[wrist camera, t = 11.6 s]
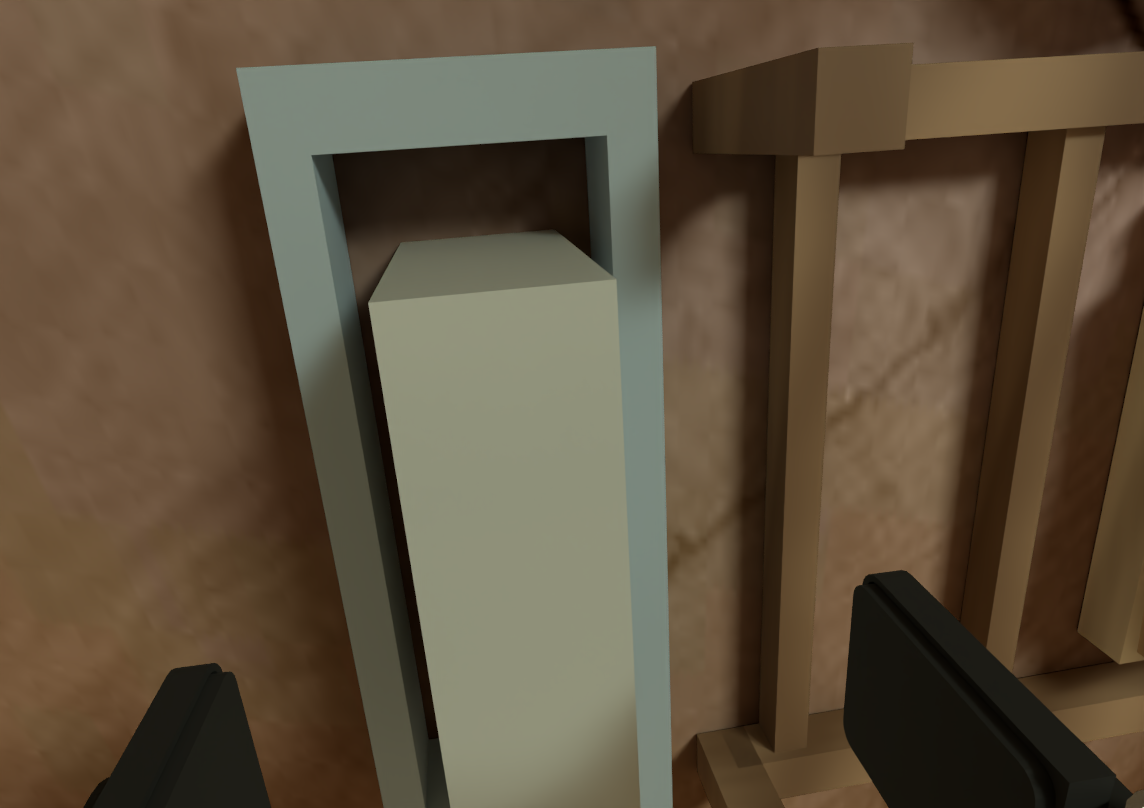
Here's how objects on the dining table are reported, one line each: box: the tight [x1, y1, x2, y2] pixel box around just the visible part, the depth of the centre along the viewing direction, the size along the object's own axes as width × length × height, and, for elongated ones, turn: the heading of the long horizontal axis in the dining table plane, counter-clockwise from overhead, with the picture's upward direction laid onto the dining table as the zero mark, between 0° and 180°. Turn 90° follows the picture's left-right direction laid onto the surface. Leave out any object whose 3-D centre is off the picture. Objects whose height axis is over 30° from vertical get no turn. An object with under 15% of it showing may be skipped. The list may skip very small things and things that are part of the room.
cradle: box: [236, 46, 673, 808], centre depth 18 cm, size 8×19×2 cm, turn 4°
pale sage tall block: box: [368, 229, 641, 808], centre depth 16 cm, size 4×12×7 cm, turn 4°
